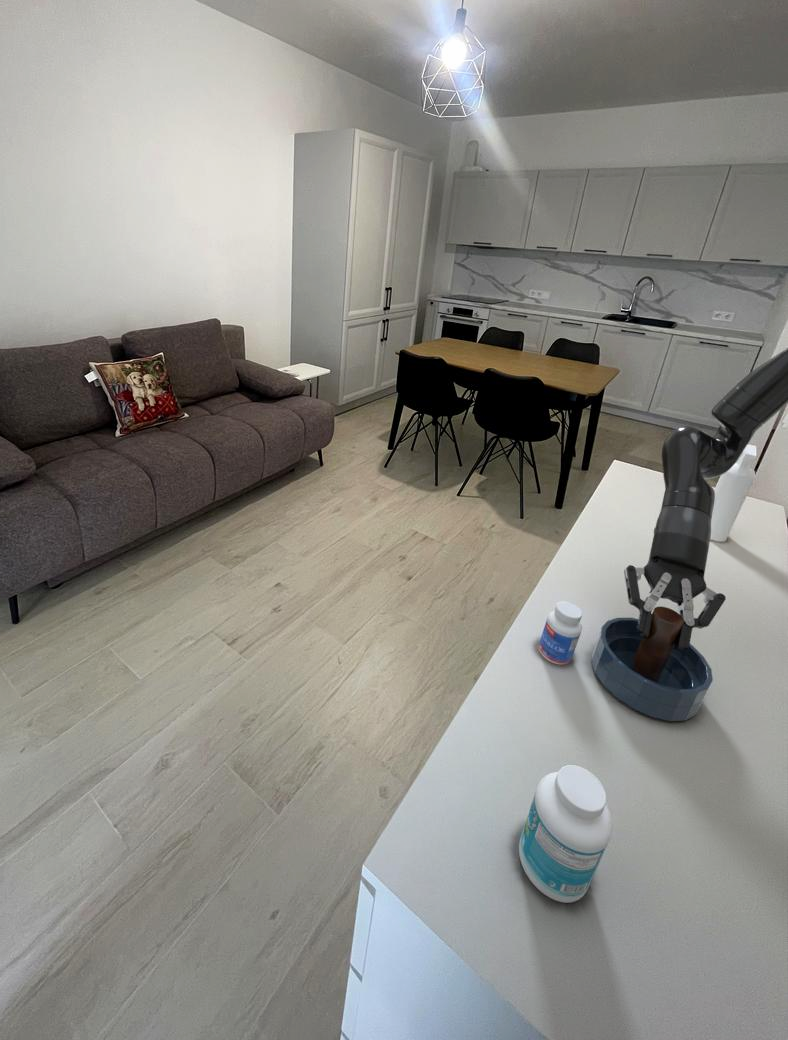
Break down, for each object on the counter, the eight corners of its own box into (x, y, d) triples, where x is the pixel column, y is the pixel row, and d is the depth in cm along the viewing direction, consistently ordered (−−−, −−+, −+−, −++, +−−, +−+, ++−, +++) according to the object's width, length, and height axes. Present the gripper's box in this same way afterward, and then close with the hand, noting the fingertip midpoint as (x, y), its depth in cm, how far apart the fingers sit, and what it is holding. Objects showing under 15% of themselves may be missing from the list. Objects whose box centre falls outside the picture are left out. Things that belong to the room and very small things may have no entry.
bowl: (709, 689, 81) (724, 659, 78) (679, 744, 71) (695, 712, 69) (612, 633, 91) (622, 605, 89) (574, 674, 81) (584, 644, 79)
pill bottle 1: (532, 650, 86) (545, 605, 82) (547, 637, 89) (560, 593, 85) (562, 671, 82) (577, 625, 78) (577, 656, 85) (592, 611, 82)
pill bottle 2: (540, 815, 61) (567, 738, 56) (599, 874, 55) (635, 795, 50) (503, 856, 56) (529, 777, 51) (564, 924, 51) (600, 843, 46)
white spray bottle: (728, 530, 131) (766, 442, 121) (727, 549, 122) (767, 456, 112) (698, 520, 134) (733, 435, 125) (694, 538, 126) (731, 447, 116)
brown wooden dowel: (660, 679, 81) (687, 617, 76) (651, 692, 78) (679, 628, 73) (634, 664, 84) (658, 602, 79) (625, 675, 81) (650, 613, 76)
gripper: (637, 519, 81) (614, 622, 76) (742, 548, 75) (726, 662, 70) (627, 532, 87) (605, 627, 82) (724, 560, 81) (707, 665, 76)
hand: (661, 643), depth 76 cm, fingers closed on brown wooden dowel, 4 cm apart
